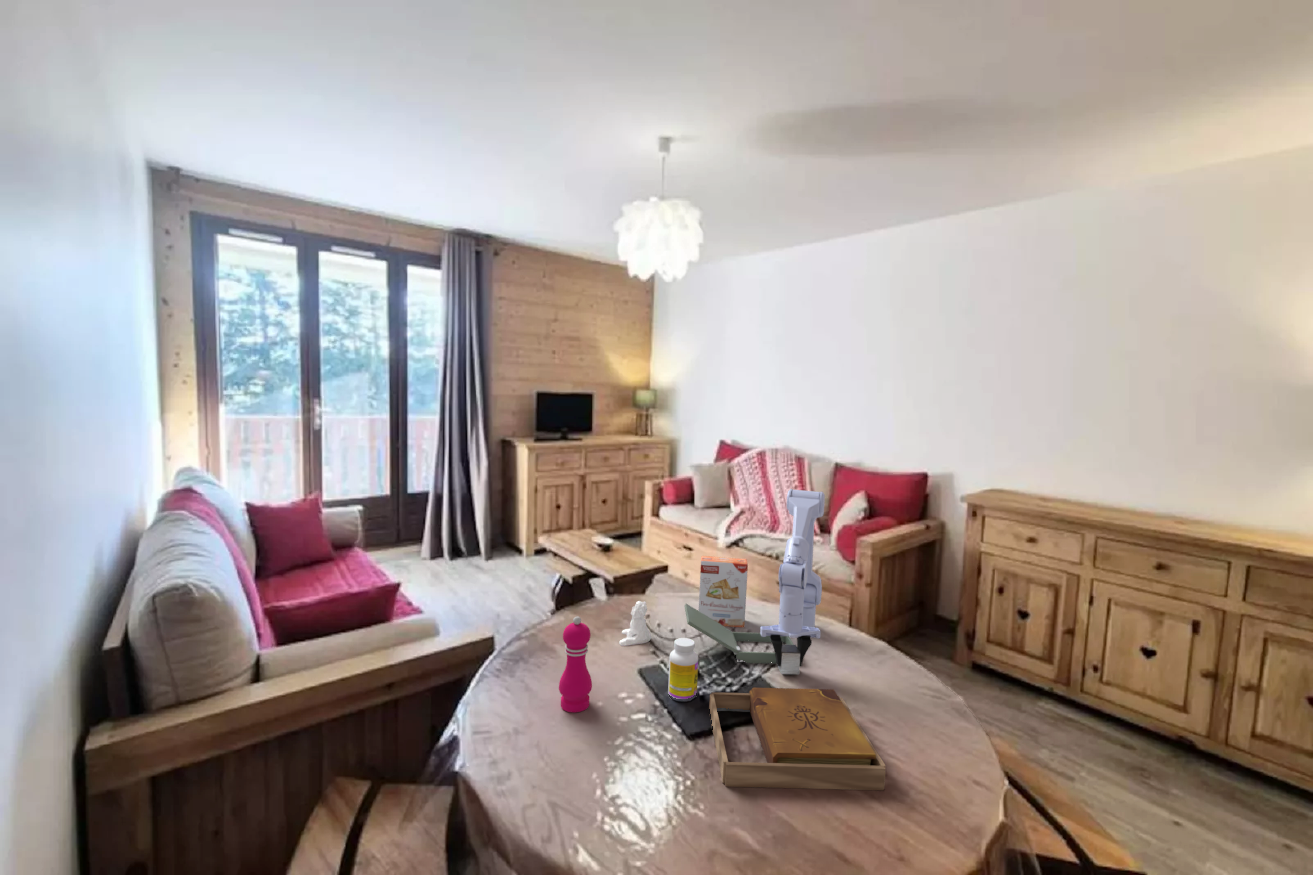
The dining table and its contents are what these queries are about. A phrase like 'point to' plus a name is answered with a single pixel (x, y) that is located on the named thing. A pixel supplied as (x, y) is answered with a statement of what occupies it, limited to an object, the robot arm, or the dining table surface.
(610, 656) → the dining table surface
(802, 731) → the diary
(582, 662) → the pepper mill
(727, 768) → the desk tray
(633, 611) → the white creature statuette
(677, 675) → the supplement bottle
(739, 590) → the cracker box
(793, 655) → the block
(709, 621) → the case
